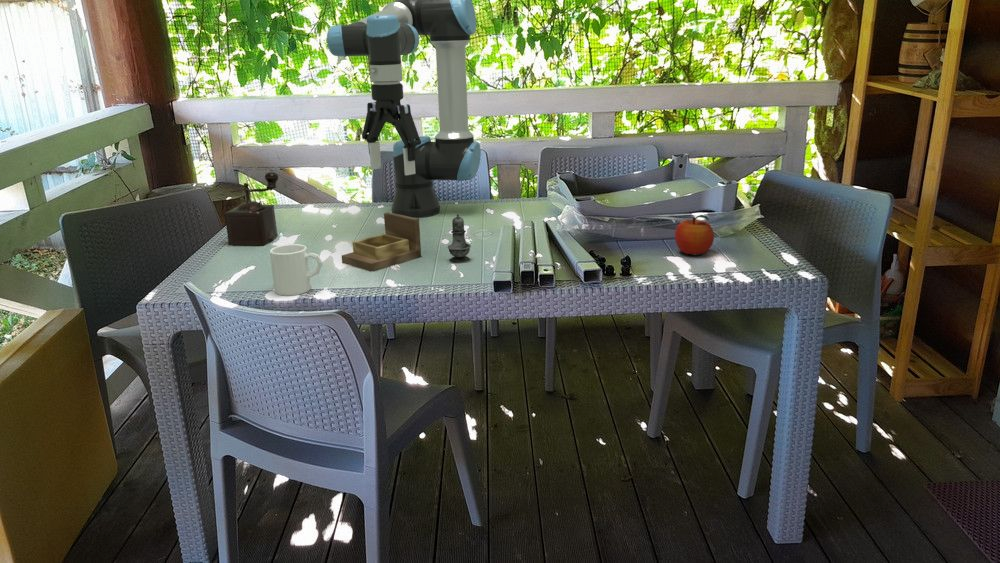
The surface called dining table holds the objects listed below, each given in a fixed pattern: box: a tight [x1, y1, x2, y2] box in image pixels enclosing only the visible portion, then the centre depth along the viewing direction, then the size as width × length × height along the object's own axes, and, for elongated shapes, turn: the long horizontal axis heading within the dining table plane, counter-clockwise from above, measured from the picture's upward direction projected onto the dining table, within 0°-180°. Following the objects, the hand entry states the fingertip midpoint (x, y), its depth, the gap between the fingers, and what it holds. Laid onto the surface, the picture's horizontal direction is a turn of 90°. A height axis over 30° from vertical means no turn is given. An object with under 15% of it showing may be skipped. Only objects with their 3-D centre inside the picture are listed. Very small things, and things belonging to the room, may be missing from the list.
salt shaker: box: [447, 213, 472, 264], centre depth 202 cm, size 6×6×12 cm
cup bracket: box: [340, 211, 422, 272], centre depth 205 cm, size 16×12×10 cm
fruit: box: [674, 214, 715, 256], centre depth 202 cm, size 10×10×10 cm
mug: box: [269, 243, 324, 297], centre depth 183 cm, size 8×12×10 cm
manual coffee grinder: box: [224, 171, 279, 247], centre depth 227 cm, size 16×11×18 cm
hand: (392, 171), depth 200 cm, fingers open, 13 cm apart
